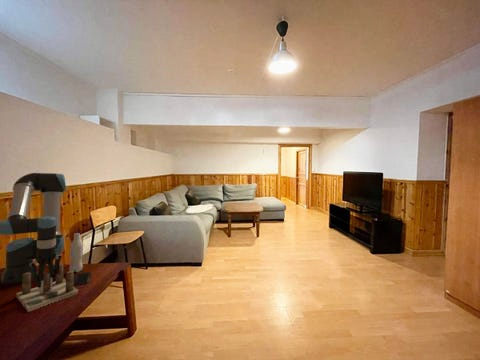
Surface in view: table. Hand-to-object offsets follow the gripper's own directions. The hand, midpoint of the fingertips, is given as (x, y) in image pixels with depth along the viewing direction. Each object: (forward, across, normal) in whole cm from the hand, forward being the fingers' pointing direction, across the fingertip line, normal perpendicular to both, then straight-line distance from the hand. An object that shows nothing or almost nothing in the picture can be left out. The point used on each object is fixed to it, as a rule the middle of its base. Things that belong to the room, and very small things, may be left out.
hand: (45, 290), depth 115 cm
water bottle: (+3, -25, -17) cm, 30 cm away
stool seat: (+3, -1, 0) cm, 3 cm away
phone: (+4, -20, -3) cm, 21 cm away
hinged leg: (+1, 0, +4) cm, 4 cm away
